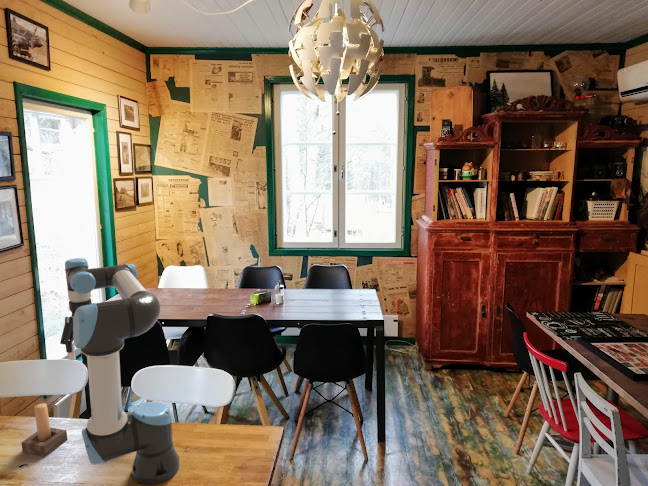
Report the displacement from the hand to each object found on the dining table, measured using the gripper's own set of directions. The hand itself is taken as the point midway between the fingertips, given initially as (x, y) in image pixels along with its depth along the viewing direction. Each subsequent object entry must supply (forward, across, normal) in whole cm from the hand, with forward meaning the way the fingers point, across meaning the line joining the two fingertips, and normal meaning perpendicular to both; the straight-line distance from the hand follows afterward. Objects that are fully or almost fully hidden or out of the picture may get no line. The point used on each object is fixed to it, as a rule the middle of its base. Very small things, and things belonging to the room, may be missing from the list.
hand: (85, 352), depth 176 cm
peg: (+31, +16, -7) cm, 35 cm away
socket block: (+31, +16, -7) cm, 35 cm away
